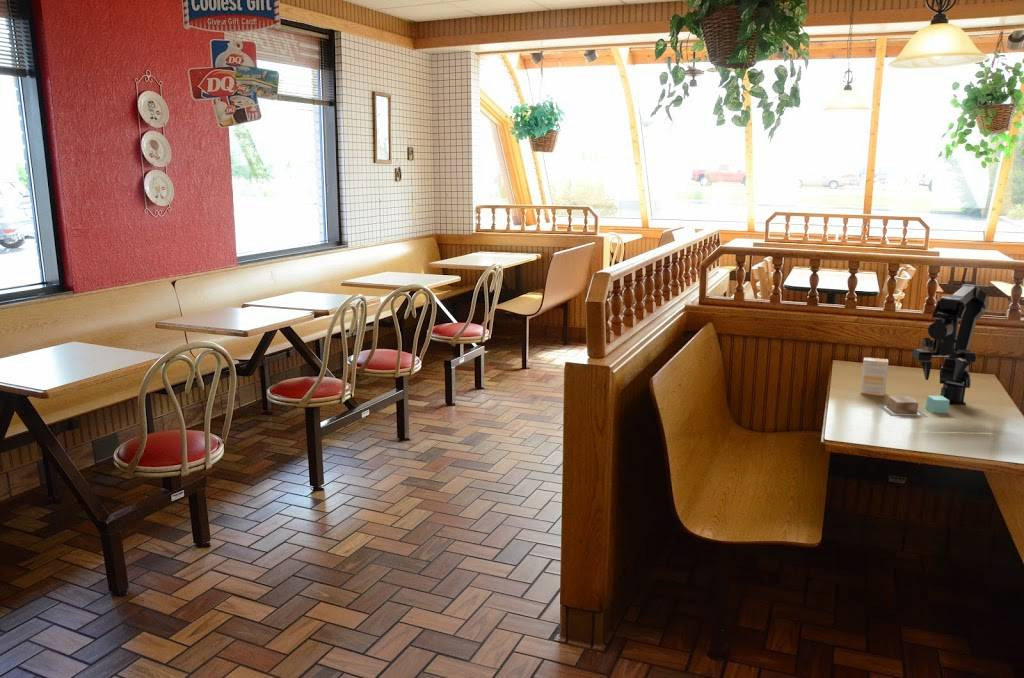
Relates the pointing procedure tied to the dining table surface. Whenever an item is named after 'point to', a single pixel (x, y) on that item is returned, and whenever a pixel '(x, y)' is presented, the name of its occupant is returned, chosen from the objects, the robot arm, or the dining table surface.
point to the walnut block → (902, 405)
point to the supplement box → (874, 376)
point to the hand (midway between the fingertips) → (940, 380)
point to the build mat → (891, 413)
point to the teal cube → (937, 404)
